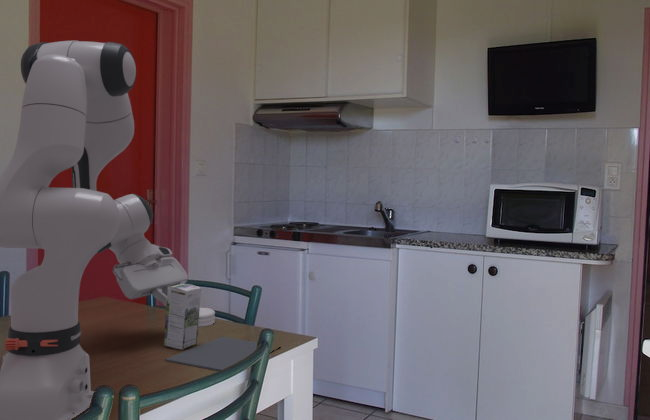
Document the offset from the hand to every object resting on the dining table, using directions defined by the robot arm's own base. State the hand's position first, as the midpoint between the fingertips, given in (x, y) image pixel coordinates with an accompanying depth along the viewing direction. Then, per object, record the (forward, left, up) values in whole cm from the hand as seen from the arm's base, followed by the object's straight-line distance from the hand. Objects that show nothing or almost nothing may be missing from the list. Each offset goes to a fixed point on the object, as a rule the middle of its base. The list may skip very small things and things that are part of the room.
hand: (171, 304), depth 155 cm
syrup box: (-2, -2, -10) cm, 10 cm away
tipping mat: (-9, -13, -10) cm, 19 cm away
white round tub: (+21, -5, -10) cm, 24 cm away
